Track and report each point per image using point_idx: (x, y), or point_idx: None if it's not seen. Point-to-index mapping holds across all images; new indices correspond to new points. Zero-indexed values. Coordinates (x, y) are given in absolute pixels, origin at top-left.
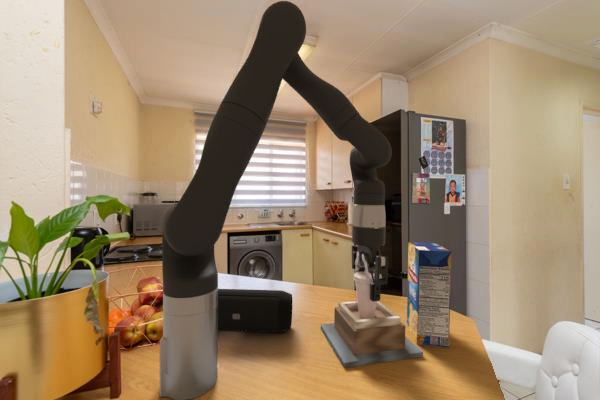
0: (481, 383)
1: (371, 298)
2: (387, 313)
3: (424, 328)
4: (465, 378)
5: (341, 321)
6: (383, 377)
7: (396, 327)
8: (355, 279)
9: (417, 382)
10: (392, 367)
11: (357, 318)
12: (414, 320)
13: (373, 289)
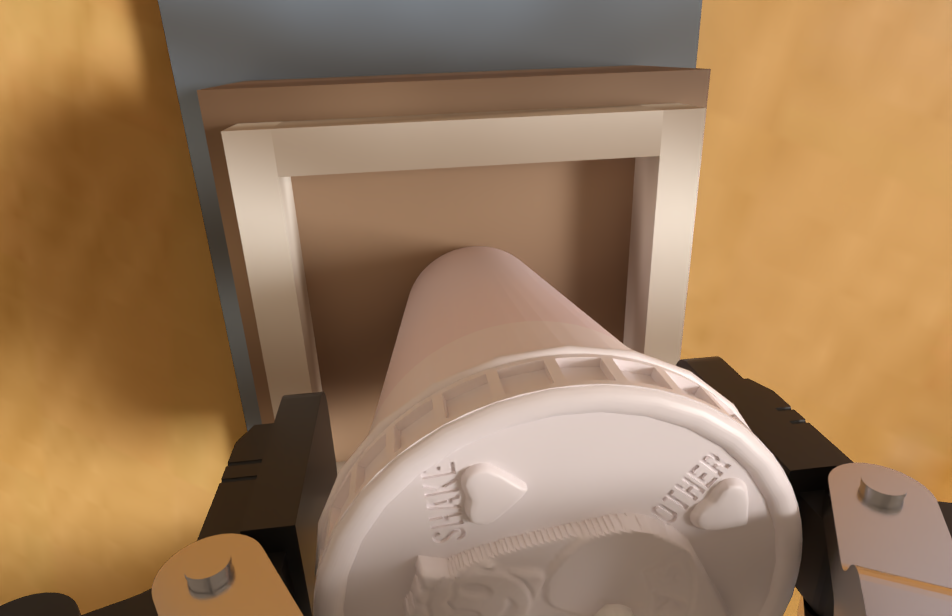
0: None
1: (281, 407)
2: None
3: None
4: (90, 566)
5: (507, 75)
6: (74, 196)
7: None
8: (544, 362)
9: (42, 354)
10: (171, 286)
11: (439, 213)
12: None
13: (244, 505)
